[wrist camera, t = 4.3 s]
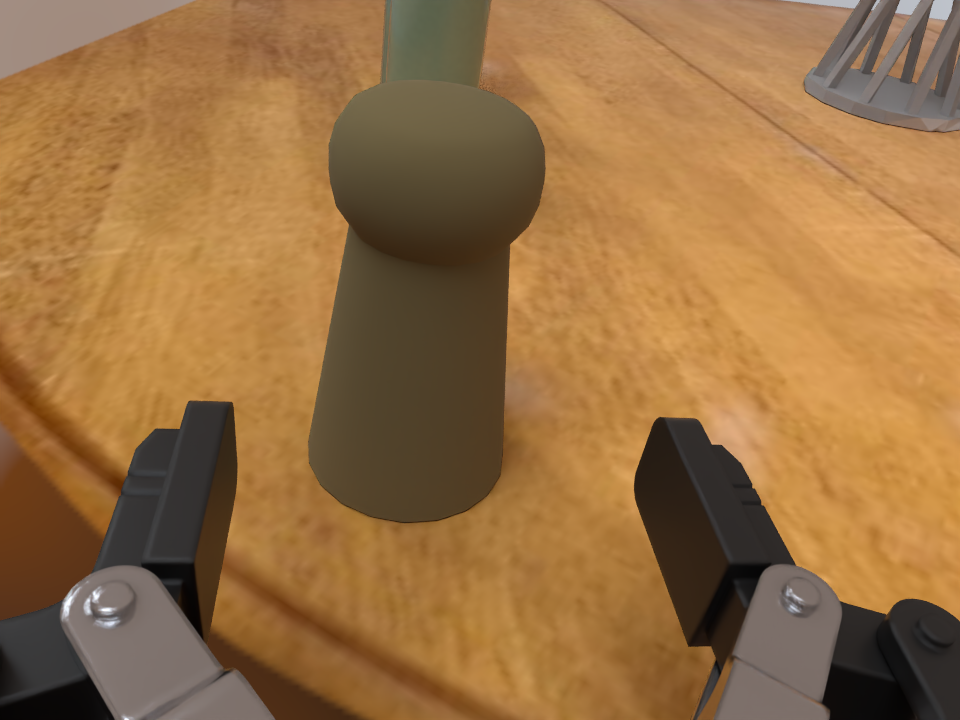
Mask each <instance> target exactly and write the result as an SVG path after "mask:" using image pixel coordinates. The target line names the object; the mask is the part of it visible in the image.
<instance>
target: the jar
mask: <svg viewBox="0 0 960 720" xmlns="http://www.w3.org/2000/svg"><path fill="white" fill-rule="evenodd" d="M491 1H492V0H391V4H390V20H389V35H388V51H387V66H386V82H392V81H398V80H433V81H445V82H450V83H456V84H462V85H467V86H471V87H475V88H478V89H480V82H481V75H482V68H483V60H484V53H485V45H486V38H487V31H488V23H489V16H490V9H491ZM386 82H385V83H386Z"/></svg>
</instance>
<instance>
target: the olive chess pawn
mask: <svg viewBox="0 0 960 720" xmlns="http://www.w3.org/2000/svg"><path fill="white" fill-rule="evenodd" d="M329 175H330V183H331V187H332V191H333V195H334V199H335V203H336V207H337V208H338V209H339V211H340V212H341V214H342V215H343V216H344V218H345V219H346V221H347V222H348V223H349V228H348V233H347V238H346V244H345V249H344V254H343V260H342V265H341V270H340V276H339V281H338V286H337V292H336V297H335V302H334V308H333V313H332V318H331V324H330V329H329V334H328V339H327V345H326V350H325V355H324V361H323V366H322V371H321V377H320V382H319V387H318V393H317V398H316V403H315V409H314V414H313V419H312V425H311V430H310V435H309V441H308V446H309V464H310V466H311V468H312V469H313V471H314V473H315V475H316V477H317V479H318V481H319V483H320V485H321V486H323V487H324V488H325V489H326V490H327V491H328V492H329V493H331V494H332V495H333V496H334V497H335V498H336V499H337V500H339V501H340V502H341V503H342V504H344V505H347V506H349V507H351V508H353V509H355V510H358V511H360V512H362V513H364V514H366V515H369V516H371V517H377V518H382V519H388V520H393V521H399V522H417V521H432V520H439V519H442V518H445V517H448V516H451V515H454V514H457V513H460V512H463V511H466V510H467V509H469V508H470V507H472V506H473V505H474V504H476V503H477V502H479V501H480V500H481V499H483V498H484V497H485V496H487V495H488V494H489V492H490V490H491V489H492V487H493V486H494V484H495V483H496V481H497V479H498V478H499V476H500V471H501V463H502V455H503V428H504V400H505V372H506V343H507V315H508V287H509V259H510V244H511V243H512V242H513V241H514V240H515V239H516V238H518V236H519V235H520V234H521V233H522V232H523V231H524V230H525V229H526V228H527V227H528V226H529V225H530V223H531V221H532V219H533V217H534V215H535V212H536V210H537V208H538V206H539V203H540V199H541V194H542V189H543V185H544V178H545V151H544V145H543V142H542V140H541V137H540V135H539V132H538V129H537V127H536V125H535V124H534V122H533V121H532V120H531V118H530V117H529V116H528V115H527V114H526V113H525V112H524V111H522V110H521V109H520V108H519V107H517V106H516V105H514V104H513V103H511V102H510V101H508V100H507V99H505V98H503V97H500V96H498V95H496V94H493V93H491V92H489V91H485V90H482V89H478V88H475V87H471V86H467V85H462V84H456V83H450V82H445V81H433V80H398V81H392V82H386V83H381V84H378V85H376V86H374V87H372V88H369V89H367V90H365V91H363V92H361V93H358V94H356V95H355V96H354V97H353V98H352V100H351V101H350V102H349V103H348V105H347V106H346V108H345V109H344V110H343V112H342V113H341V115H340V116H339V118H338V119H337V121H336V122H335V125H334V128H333V132H332V135H331V139H330V142H329Z"/></svg>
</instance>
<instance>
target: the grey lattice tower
mask: <svg viewBox="0 0 960 720" xmlns="http://www.w3.org/2000/svg"><path fill="white" fill-rule="evenodd" d="M899 1H900V0H880V2H879V3H878V5H877V6H876V7H875V9H874V10H873V12H872V13H871V15H870V16H869V18H868V19H867V20H866V18H867V17H868V15H869V13H870V11H871V9H872V7H873V6H874V4H875V2H876V0H860V1H859V3H858V5H857V6H856V8H855V9H854V11H853V12H852V14H851V15H850V17H849V18H848V20H847V21H846V23H845V24H844V26H843V28H842V29H841V31H840V32H839V34H838V35H837V37H836V38H835V40H834V41H833V43H832V44H831V46H830V47H829V49H828V51H827V52H826V54H825V55H824V57H823V58H822V60H821V61H820V63H819V64H818V66H817V67H814V68H812V70H811V71H810V72H809V73H808V74H807V75H806V77H805V80H804V84H805V91H806V92H808V93H809V94H811V95H812V96H814V97H816V98H817V99H819V100H820V101H822V102H824V103H826V104H829V105H831V106H833V107H836V108H838V109H841V110H843V111H845V112H848V113H850V114H854V115H857V116H860V117H864V118H867V119H870V120H874V121H877V122H880V123H885V124H891V125H896V126H902V127H908V128H913V129H919V130H924V131H940V132H947V131H953V130H960V55H959V58H958V61H957V64H956V67H955V70H954V73H953V69H954V65H955V60H956V55H957V51H958V46H959V41H960V0H954V1H953V6H952V11H951V13H950V15H949V17H948V19H947V21H946V23H945V26H944V28H943V30H942V32H941V34H940V36H939V38H938V40H937V42H936V44H935V47H934V49H933V51H932V53H931V55H930V57H929V59H928V61H927V63H926V65H925V67H924V70H923V72H922V74H921V76H920V78H919V80H918V82H917V84H916V83H914V82H911V81H912V77H913V74H914V70H915V66H916V63H917V59H918V55H919V52H920V48H921V44H922V40H923V37H924V33H925V29H926V26H927V22H928V18H929V14H930V11H931V7H932V4H933V1H934V0H921V1H920V2H919V4H918V5H917V7H916V9H915V10H914V12H913V14H912V15H911V17H910V18H909V20H908V21H907V23H906V25H905V26H904V28H903V29H902V31H901V33H900V34H899V36H898V37H897V39H896V41H895V42H894V44H893V45H892V47H891V49H890V50H889V52H888V53H887V55H886V56H885V58H884V60H883V61H882V63H881V64H880V66H879V68H878V69H877V71H876V72H875V73H874V72H871V71H872V69H873V66H874V64H875V61H876V59H877V56H878V54H879V51H880V49H881V46H882V44H883V41H884V39H885V36H886V34H887V31H888V29H889V26H890V24H891V21H892V19H893V16H894V14H895V11H896V9H897V6H898V4H899ZM865 20H866V22H865ZM864 22H865V23H864ZM863 24H864V25H863ZM872 35H873V36H872ZM911 36H912V39H911V42H910V46H909V50H908V54H907V57H906V61H905V65H904V68H903V72H902V76H901V79H899V78H895V77H892V76H888V73H889V72H890V70H891V68H892V67H893V65H894V64H895V62H896V60H897V59H898V57H899V56H900V54H901V52H902V51H903V49H904V48H905V46H906V44H907V43H908V41H909V40H910V38H911ZM871 37H872V39H871V42H870V44H869V47H868V49H867V52H866V55H865V57H864V60H863V62H862V65H861V68H860V70H859V69H851V68H850V67H851V65H852V64H853V62H854V61H855V59H856V58H857V57H858V55H859V54H860V52H861V51H862V50H863V48H864V47H865V45H866V44H867V42H868V41H869V40H870V38H871ZM938 71H939V74H938V79H937V83H936V88H935V90H933V89H930V88H931V85H932V83H933V81H934V79H935V77H936V75H937V73H938ZM952 74H953V76H952Z"/></svg>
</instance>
